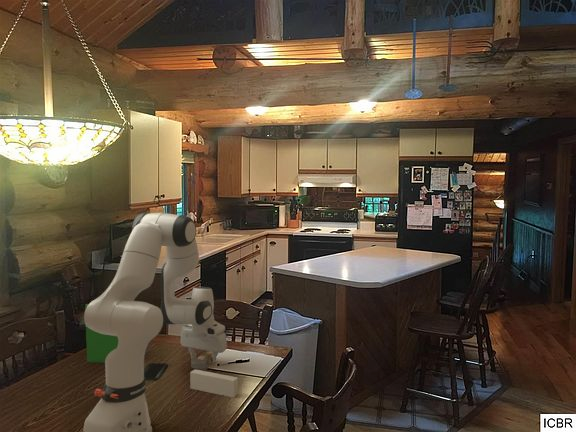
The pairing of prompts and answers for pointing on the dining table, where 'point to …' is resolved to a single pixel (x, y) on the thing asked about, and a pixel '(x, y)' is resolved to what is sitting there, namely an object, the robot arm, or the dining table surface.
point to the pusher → (202, 361)
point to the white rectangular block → (214, 383)
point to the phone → (154, 371)
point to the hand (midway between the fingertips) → (203, 359)
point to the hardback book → (99, 345)
